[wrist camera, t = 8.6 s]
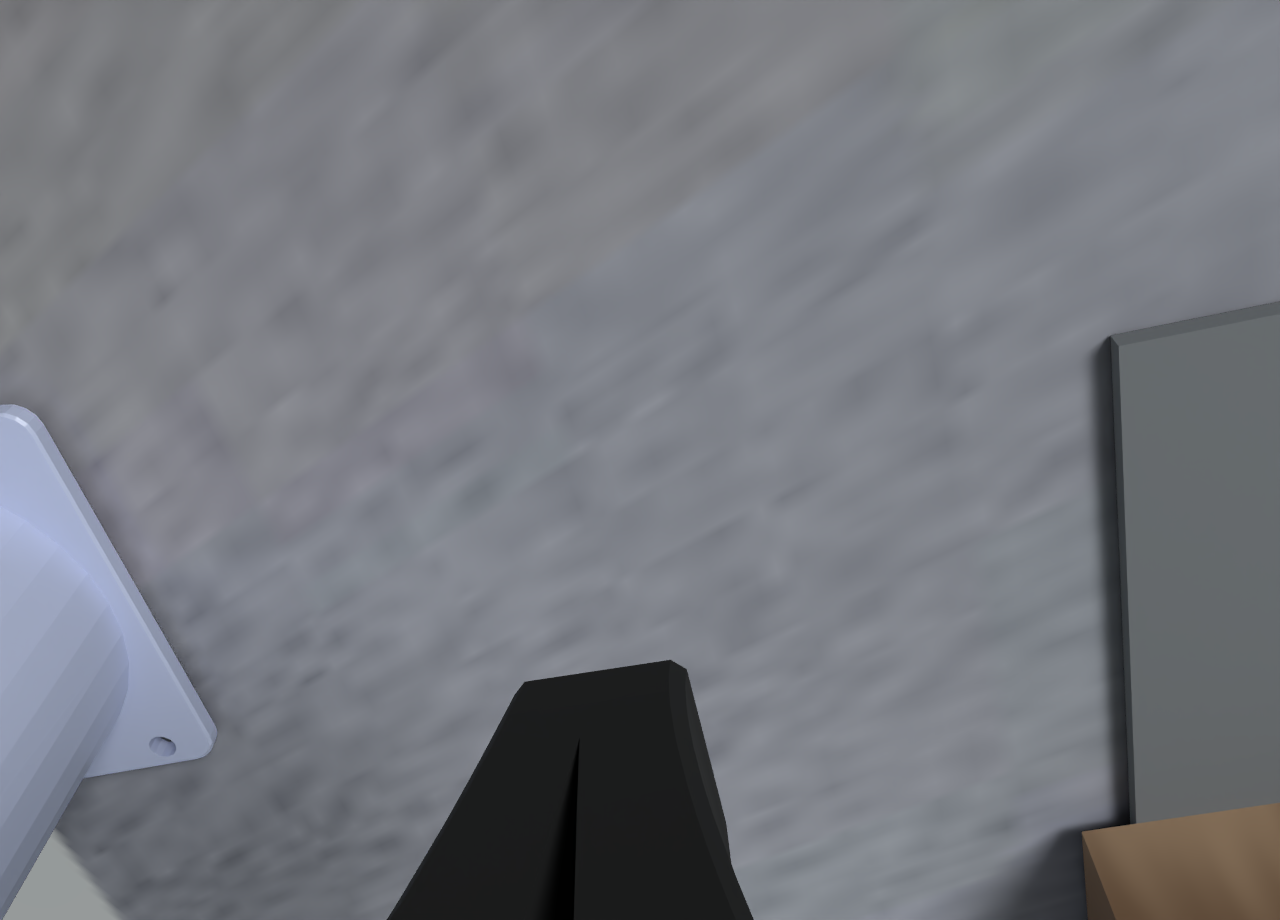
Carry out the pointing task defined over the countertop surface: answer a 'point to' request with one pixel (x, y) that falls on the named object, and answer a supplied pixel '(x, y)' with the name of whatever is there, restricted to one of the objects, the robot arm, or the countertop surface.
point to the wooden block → (1186, 867)
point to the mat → (1200, 560)
